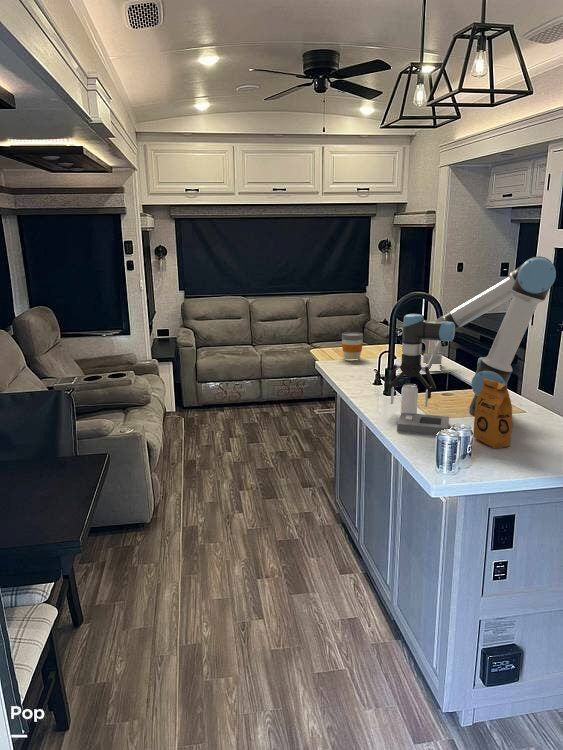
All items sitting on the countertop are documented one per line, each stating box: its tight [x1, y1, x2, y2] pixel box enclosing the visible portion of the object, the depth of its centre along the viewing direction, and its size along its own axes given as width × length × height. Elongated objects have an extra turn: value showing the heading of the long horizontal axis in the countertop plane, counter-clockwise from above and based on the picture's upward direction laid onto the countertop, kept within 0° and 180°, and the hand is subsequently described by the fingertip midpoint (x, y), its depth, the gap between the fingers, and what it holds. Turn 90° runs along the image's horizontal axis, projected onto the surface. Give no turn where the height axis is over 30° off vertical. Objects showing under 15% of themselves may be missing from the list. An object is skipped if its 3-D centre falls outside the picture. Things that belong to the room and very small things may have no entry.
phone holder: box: [422, 340, 443, 369], centre depth 300 cm, size 17×10×18 cm, turn 164°
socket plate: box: [396, 412, 450, 436], centre depth 210 cm, size 18×14×4 cm
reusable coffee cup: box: [341, 331, 364, 360], centre depth 324 cm, size 13×13×15 cm
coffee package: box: [472, 379, 513, 449], centre depth 192 cm, size 10×12×22 cm
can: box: [400, 383, 419, 414], centre depth 225 cm, size 6×6×12 cm
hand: (409, 404), depth 226 cm, fingers open, 13 cm apart
